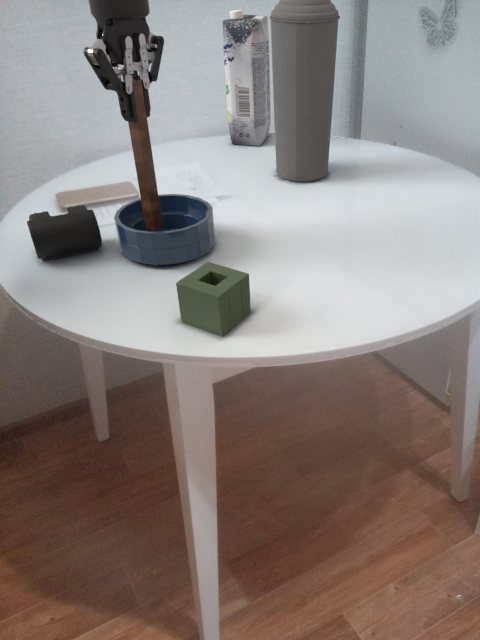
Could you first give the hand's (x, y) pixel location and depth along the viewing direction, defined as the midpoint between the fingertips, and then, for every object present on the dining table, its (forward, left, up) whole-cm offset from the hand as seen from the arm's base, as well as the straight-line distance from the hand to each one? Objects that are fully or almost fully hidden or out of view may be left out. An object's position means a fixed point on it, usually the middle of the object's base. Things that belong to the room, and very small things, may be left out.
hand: (137, 118), depth 81 cm
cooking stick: (0, 0, -17) cm, 17 cm away
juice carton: (+55, +18, -20) cm, 61 cm away
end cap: (-10, +10, -20) cm, 24 cm away
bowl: (0, -2, -20) cm, 20 cm away
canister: (+41, -4, -20) cm, 46 cm away
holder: (-13, -22, -20) cm, 32 cm away
